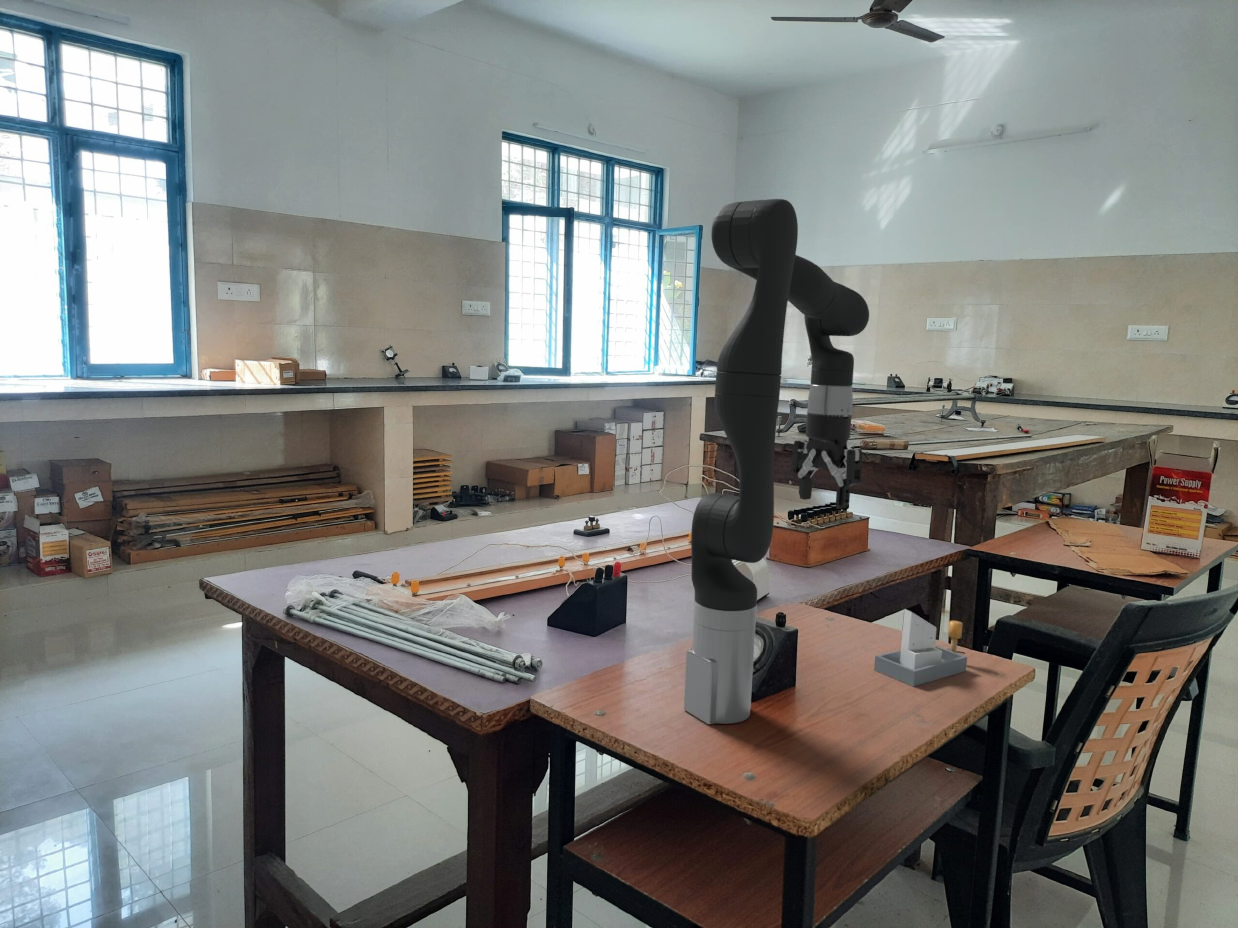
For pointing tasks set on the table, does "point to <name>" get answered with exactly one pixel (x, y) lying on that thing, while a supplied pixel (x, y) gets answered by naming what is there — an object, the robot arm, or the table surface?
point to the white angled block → (918, 642)
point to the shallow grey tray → (945, 668)
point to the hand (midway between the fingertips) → (823, 503)
